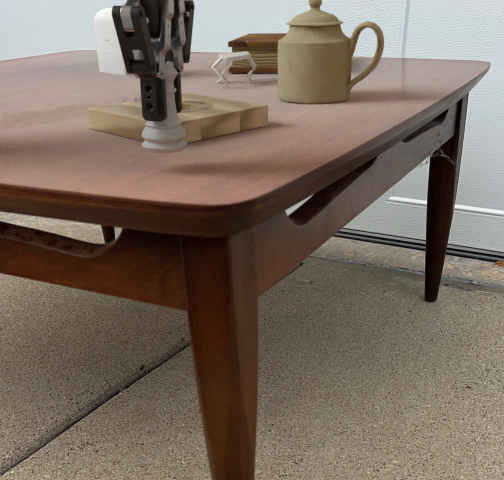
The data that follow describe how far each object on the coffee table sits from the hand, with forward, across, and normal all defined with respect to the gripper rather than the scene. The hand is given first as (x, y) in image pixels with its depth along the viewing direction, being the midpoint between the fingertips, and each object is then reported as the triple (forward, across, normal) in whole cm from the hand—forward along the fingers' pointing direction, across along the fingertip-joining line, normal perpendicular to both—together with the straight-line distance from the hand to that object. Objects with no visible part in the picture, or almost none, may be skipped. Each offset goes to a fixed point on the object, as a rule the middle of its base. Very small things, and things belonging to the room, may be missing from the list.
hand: (162, 115), depth 66 cm
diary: (+5, -83, -7) cm, 83 cm away
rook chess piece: (+3, 0, 0) cm, 3 cm away
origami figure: (+6, -57, -11) cm, 58 cm away
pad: (+5, -20, -6) cm, 22 cm away
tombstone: (+6, -63, -35) cm, 72 cm away
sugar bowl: (+5, -45, +8) cm, 46 cm away
